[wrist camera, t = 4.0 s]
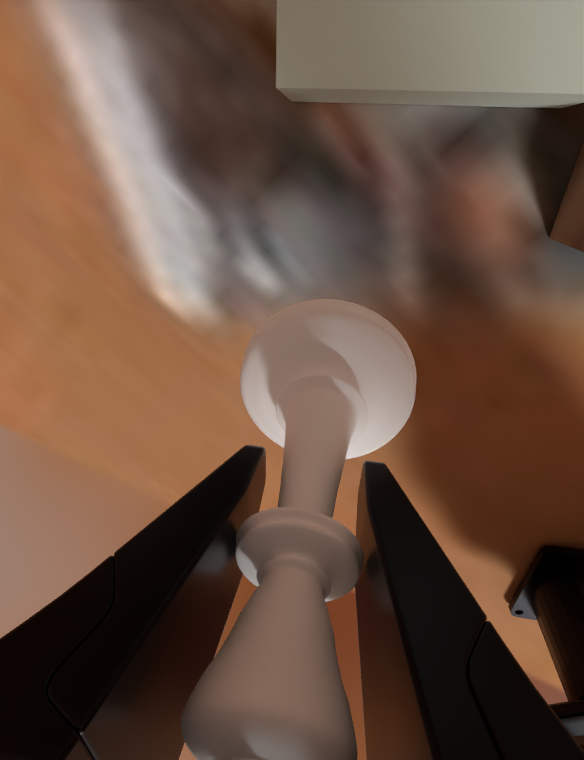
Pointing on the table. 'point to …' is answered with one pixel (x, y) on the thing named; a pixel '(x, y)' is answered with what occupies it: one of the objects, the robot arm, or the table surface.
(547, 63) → the sage slab
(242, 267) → the table surface
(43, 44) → the table surface
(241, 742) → the chess piece
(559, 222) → the walnut slab
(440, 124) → the table surface
